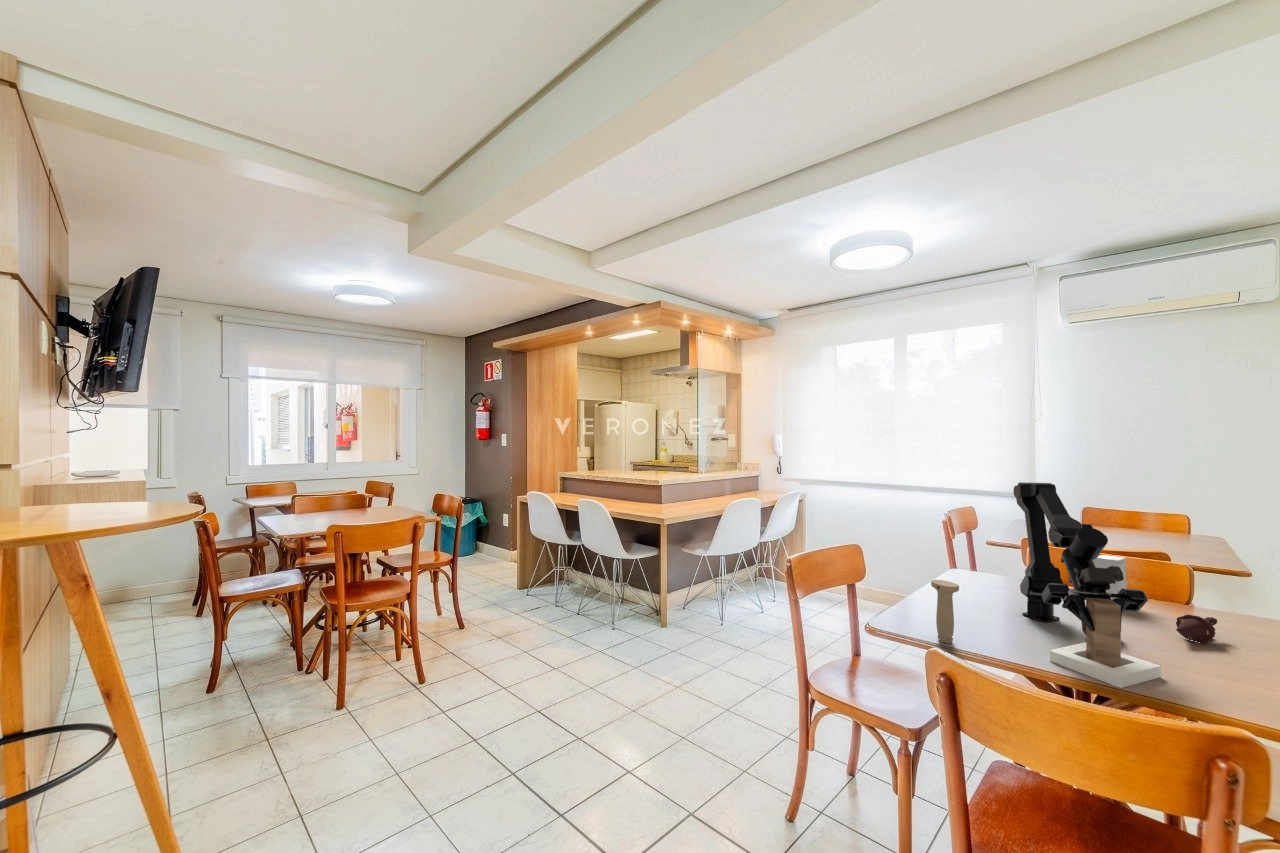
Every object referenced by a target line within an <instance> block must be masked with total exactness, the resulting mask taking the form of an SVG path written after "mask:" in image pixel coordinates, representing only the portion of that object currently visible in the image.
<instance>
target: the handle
mask: <svg viewBox="0 0 1280 853" xmlns="http://www.w3.org/2000/svg"><path fill="white" fill-rule="evenodd" d="M930 585H931V587H932V588H934V589H935V590H936V592H937V599H936V603H937V604H936V615H935V616H936V621H935V622H936V624H935V625H936V631H937V640H938V641H939V642H940V643H944V642H945V643H944V644H952V643H953V642H954V637H953V636H954V632H955V630H954V629H955V615H954V602H953V601H954V600H953V596H954V595H953V594H954V593H957V592H959V590H960V585H959V584H958V583H954V582H953V581H949V580H944V579H943V580H942V579H933V580H931V581H930Z"/></svg>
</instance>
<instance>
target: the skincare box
mask: <svg viewBox="0 0 1280 853" xmlns="http://www.w3.org/2000/svg"><path fill="white" fill-rule="evenodd" d="M1126 560H1127V559H1126V557H1123V556H1122V557H1121V556H1114V555H1107V554H1100V555H1099V556H1098V558H1096V559H1093V561H1094V564H1095V566H1096V568H1107V567H1110V566H1116V567H1120V569H1121V571H1122V573H1123V577H1124V579H1123V580H1122V581H1119V582H1117V581H1115V582H1116V583H1115V584H1113V583H1112V584H1110V587H1111V588H1110V589H1109V590H1106V593H1112V594H1118V592H1119V591H1120V590H1121V589H1122V588H1124V589H1128V587H1127V584H1128V583H1127V561H1126Z"/></svg>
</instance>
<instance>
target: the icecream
mask: <svg viewBox="0 0 1280 853" xmlns="http://www.w3.org/2000/svg"><path fill="white" fill-rule="evenodd" d="M1217 623H1218V619H1217V618H1215V617H1212V616H1211V617H1210V616H1208V617H1205V618H1204V617H1202V616H1198V615H1192V614H1184V615H1182V616H1178V617H1176V622H1175V625H1176V628H1175V629H1176V631H1177V632H1178V634H1180V636H1182V637H1184V638H1185V639H1186V638H1187V639H1189V640H1193V641H1197V642H1200V643H1204V644H1206V643H1208V642H1210V641H1212V640H1213V638H1214V637H1215V636H1216V628H1215V627H1214V626H1215V625H1217ZM1187 639H1186V640H1187Z"/></svg>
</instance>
